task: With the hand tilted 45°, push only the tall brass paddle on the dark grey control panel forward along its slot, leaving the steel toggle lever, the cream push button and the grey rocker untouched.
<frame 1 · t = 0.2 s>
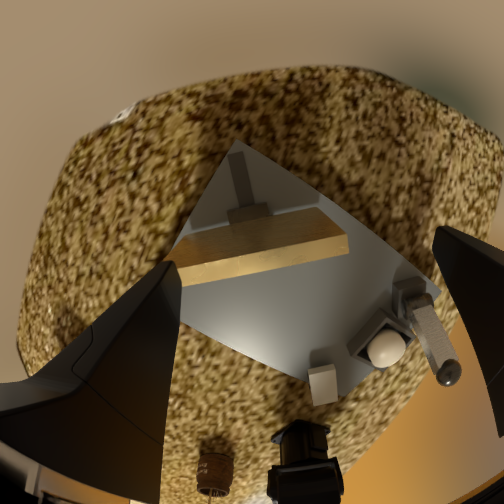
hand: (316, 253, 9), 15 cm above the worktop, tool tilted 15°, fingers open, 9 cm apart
utensil holder: (216, 459, 38), on the worktop
brass paddle: (249, 240, 17), point 7 cm above the worktop, slide at 0.0 cm
steel lever: (433, 338, 18), point 8 cm above the worktop, hinge at -20.0°
control panel: (303, 287, 26), on the worktop
push button: (385, 348, 23), point 5 cm above the worktop, slide at 0.0 cm
rocker: (323, 385, 25), point 4 cm above the worktop, hinge at 8.0°
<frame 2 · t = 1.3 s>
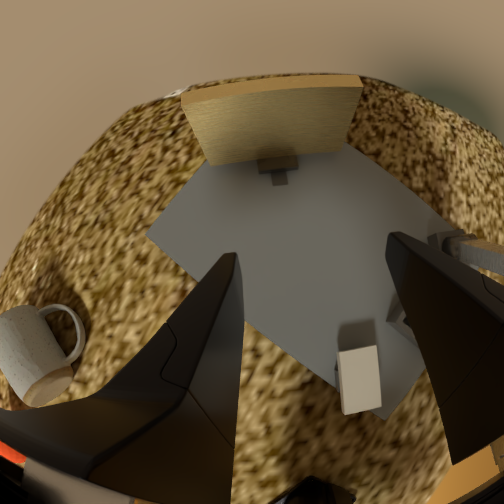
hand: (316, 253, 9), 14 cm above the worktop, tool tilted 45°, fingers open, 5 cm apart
red tomato: (25, 430, 21), on the worktop
brass paddle: (274, 125, 17), point 7 cm above the worktop, slide at 0.0 cm
steel lever: (491, 256, 13), point 8 cm above the worktop, hinge at -20.0°
control panel: (327, 252, 22), on the worktop
ceramic mug: (58, 345, 23), on the worktop
rocker: (359, 379, 16), point 4 cm above the worktop, hinge at 8.0°
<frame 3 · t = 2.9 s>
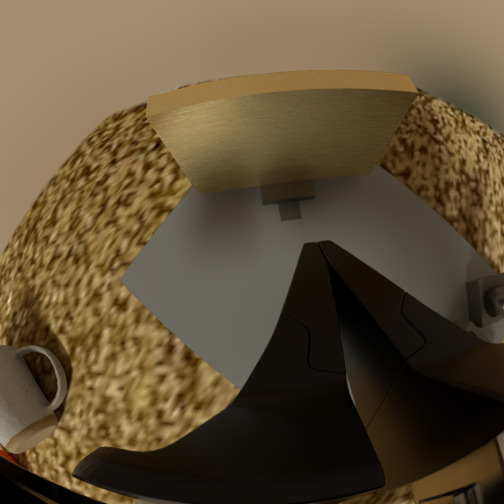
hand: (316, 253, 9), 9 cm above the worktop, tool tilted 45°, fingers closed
red tomato: (15, 463, 16), on the worktop
brass paddle: (286, 141, 12), point 7 cm above the worktop, slide at 0.0 cm
control panel: (347, 301, 17), on the worktop
ceramic mug: (40, 386, 18), on the worktop
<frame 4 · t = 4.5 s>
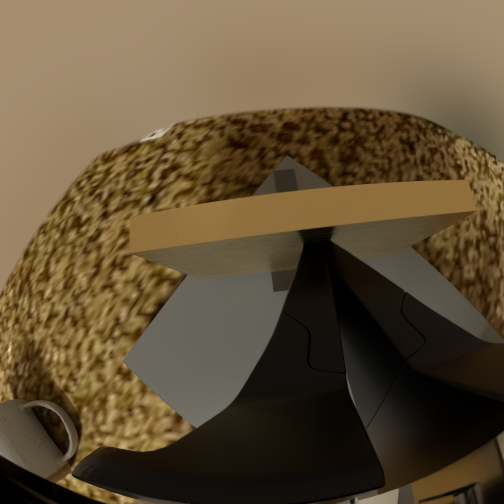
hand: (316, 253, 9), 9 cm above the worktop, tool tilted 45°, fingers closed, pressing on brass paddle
brass paddle: (306, 243, 11), point 7 cm above the worktop, slide at 0.1 cm, touching gripper
control panel: (356, 378, 16), on the worktop
ceramic mug: (49, 433, 17), on the worktop
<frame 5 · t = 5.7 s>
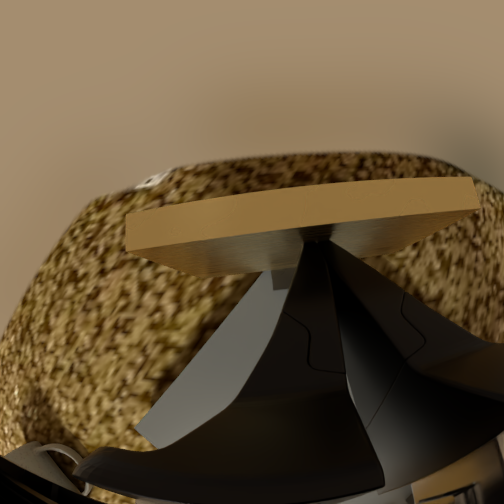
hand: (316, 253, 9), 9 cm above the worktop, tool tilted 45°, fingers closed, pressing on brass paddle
brass paddle: (306, 241, 10), point 7 cm above the worktop, slide at 4.7 cm, touching gripper
control panel: (358, 436, 15), on the worktop
ceramic mug: (63, 469, 16), on the worktop
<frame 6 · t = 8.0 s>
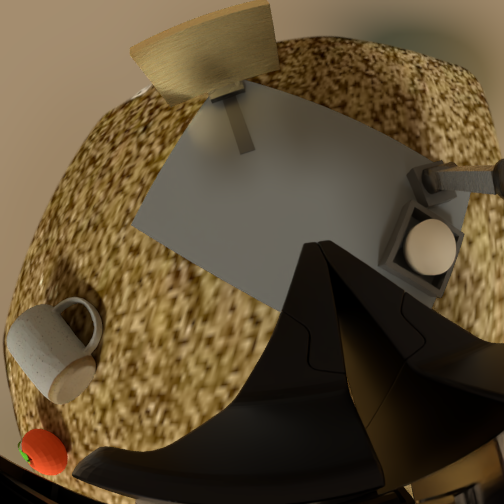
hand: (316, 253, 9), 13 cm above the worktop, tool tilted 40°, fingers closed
red tomato: (58, 441, 24), on the worktop
brass paddle: (212, 57, 17), point 7 cm above the worktop, slide at 4.7 cm
steel lever: (472, 178, 12), point 8 cm above the worktop, hinge at -20.0°
control panel: (308, 208, 22), on the worktop
push button: (429, 247, 16), point 4 cm above the worktop, slide at 0.0 cm
ceramic mug: (78, 340, 25), on the worktop
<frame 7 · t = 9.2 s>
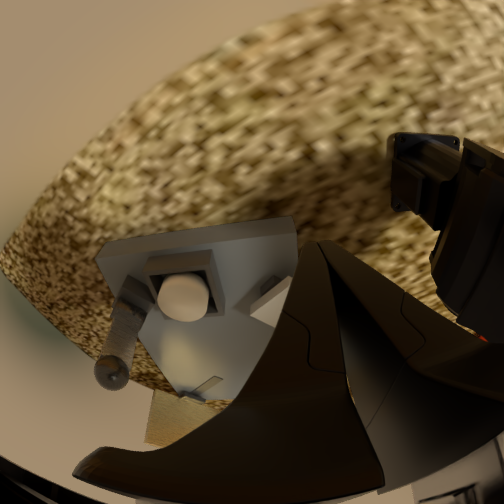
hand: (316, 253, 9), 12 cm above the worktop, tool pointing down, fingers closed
brass paddle: (187, 425, 29), point 7 cm above the worktop, slide at 4.7 cm
steel lever: (120, 340, 17), point 8 cm above the worktop, hinge at -20.0°
control panel: (220, 328, 28), on the worktop
push button: (183, 297, 20), point 4 cm above the worktop, slide at 0.0 cm
rocker: (281, 303, 21), point 4 cm above the worktop, hinge at 8.0°
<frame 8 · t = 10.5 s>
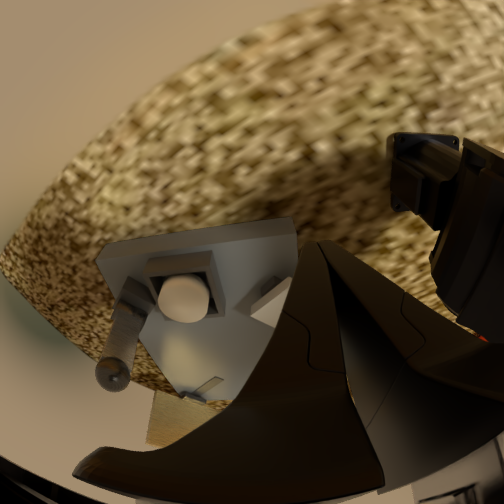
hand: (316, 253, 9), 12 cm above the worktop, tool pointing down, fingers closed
brass paddle: (188, 426, 29), point 7 cm above the worktop, slide at 4.7 cm
steel lever: (121, 342, 17), point 8 cm above the worktop, hinge at -20.0°
control panel: (221, 329, 29), on the worktop
push button: (184, 298, 20), point 4 cm above the worktop, slide at 0.0 cm
rocker: (282, 304, 21), point 4 cm above the worktop, hinge at 8.0°
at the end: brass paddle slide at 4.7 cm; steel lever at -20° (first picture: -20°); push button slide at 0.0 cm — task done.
